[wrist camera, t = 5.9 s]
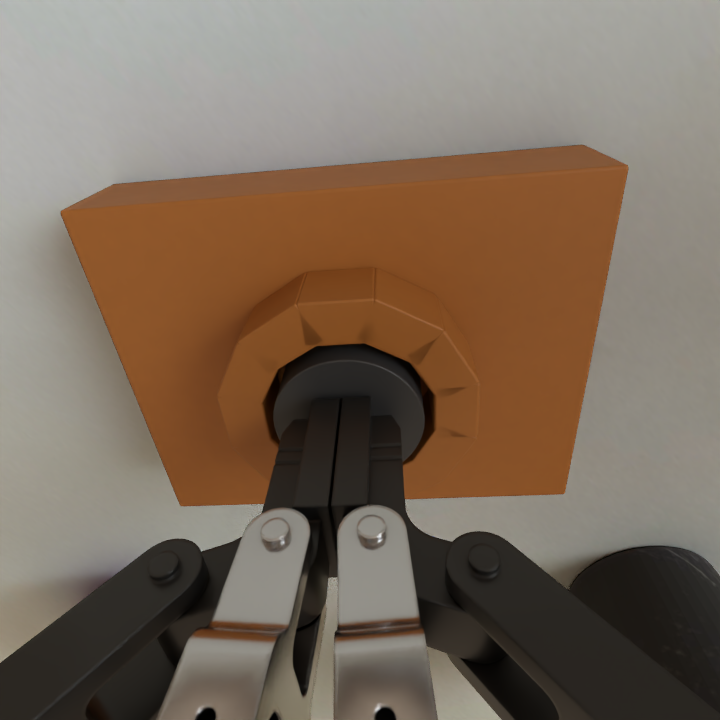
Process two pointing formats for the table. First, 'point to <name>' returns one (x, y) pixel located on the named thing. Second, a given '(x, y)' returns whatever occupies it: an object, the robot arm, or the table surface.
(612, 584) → the travel mug
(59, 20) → the table surface
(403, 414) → the grey push button
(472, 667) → the robot arm
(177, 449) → the orange button base
